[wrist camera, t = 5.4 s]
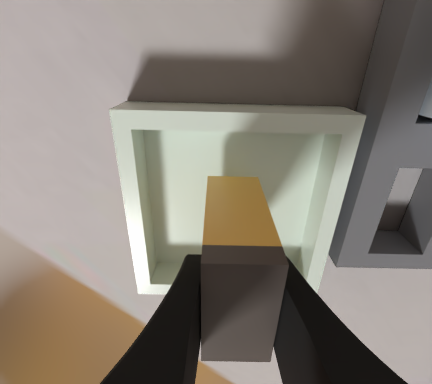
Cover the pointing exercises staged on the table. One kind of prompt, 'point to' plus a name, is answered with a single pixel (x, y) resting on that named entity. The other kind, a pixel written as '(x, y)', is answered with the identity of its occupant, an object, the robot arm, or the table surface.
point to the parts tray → (230, 166)
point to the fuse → (427, 103)
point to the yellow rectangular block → (240, 272)
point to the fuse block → (391, 146)
